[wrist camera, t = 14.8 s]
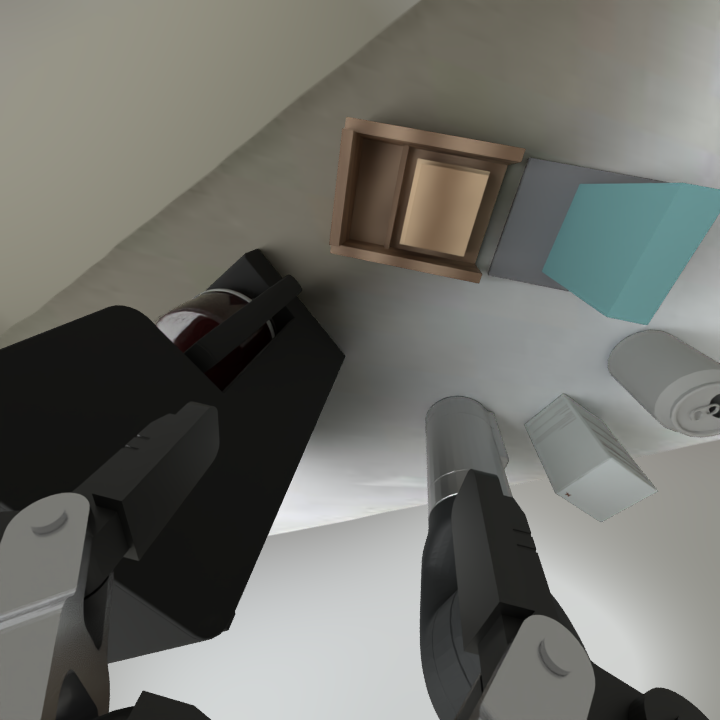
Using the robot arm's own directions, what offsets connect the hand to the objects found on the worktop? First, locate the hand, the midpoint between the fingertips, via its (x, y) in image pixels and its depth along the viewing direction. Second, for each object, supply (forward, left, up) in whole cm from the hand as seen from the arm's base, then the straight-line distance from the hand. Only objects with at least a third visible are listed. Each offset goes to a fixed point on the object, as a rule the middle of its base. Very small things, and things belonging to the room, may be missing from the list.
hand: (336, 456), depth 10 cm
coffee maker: (+18, +16, -34) cm, 42 cm away
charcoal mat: (-18, -6, -34) cm, 39 cm away
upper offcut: (-4, -6, -30) cm, 31 cm away
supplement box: (-28, +18, -34) cm, 48 cm away
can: (-32, +6, -34) cm, 47 cm away
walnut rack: (-1, -6, -34) cm, 35 cm away
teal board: (-18, -6, -34) cm, 39 cm away
